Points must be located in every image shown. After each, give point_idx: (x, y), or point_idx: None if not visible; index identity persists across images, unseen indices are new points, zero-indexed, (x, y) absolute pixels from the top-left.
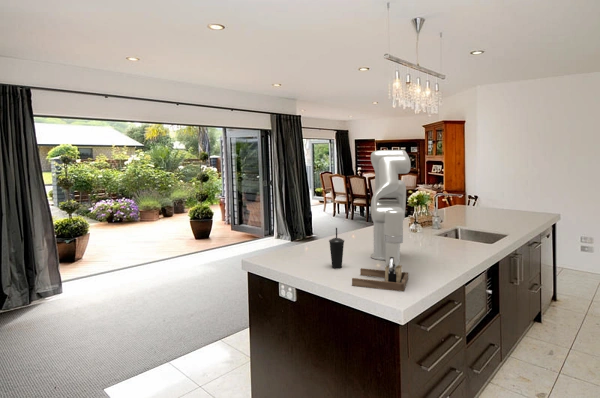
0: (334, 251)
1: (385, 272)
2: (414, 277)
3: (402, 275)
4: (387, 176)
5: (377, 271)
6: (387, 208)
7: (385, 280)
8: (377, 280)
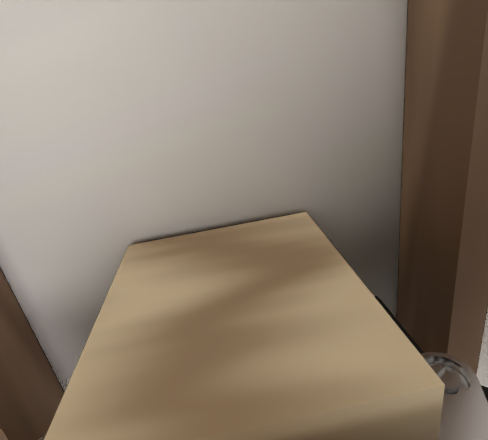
0: None
1: (79, 367)
2: (484, 374)
3: (422, 350)
4: None
5: (472, 10)
6: None
7: (120, 272)
8: None
